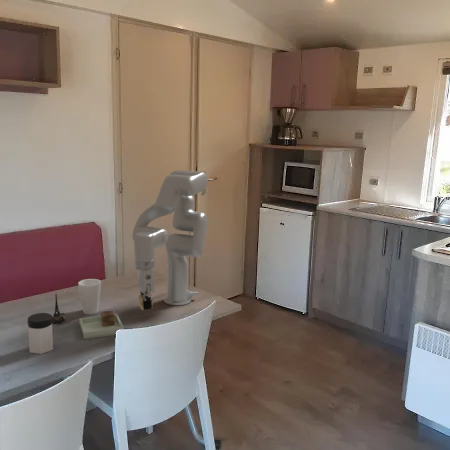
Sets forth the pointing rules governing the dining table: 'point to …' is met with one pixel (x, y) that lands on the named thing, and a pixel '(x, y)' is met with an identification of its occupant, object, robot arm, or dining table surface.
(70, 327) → the dining table surface
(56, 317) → the eiffel tower figurine
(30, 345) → the jar
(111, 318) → the walnut block
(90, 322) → the tray
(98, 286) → the foam cup
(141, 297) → the maple block
